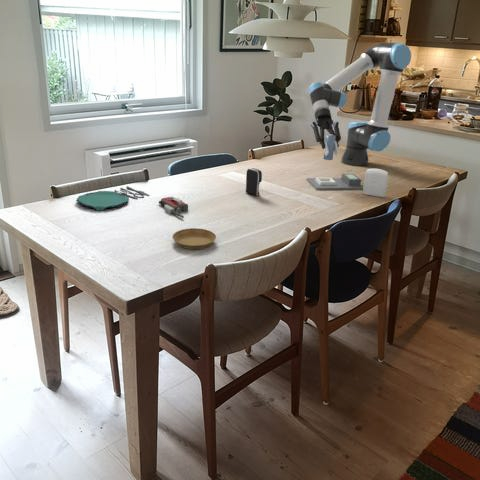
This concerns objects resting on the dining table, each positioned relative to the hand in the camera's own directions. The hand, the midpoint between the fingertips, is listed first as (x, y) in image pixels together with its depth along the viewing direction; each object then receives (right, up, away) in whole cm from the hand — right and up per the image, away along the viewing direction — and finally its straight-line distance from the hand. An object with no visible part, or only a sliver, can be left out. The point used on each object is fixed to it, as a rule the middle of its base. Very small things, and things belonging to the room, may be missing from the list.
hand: (332, 154), depth 230 cm
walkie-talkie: (-68, -29, -33) cm, 81 cm away
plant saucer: (-58, -41, -61) cm, 94 cm away
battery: (-37, -20, -9) cm, 43 cm away
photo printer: (+19, -19, -1) cm, 27 cm away
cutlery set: (-95, -24, -24) cm, 101 cm away
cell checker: (+3, -13, +11) cm, 17 cm away
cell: (-1, -1, +5) cm, 5 cm away
